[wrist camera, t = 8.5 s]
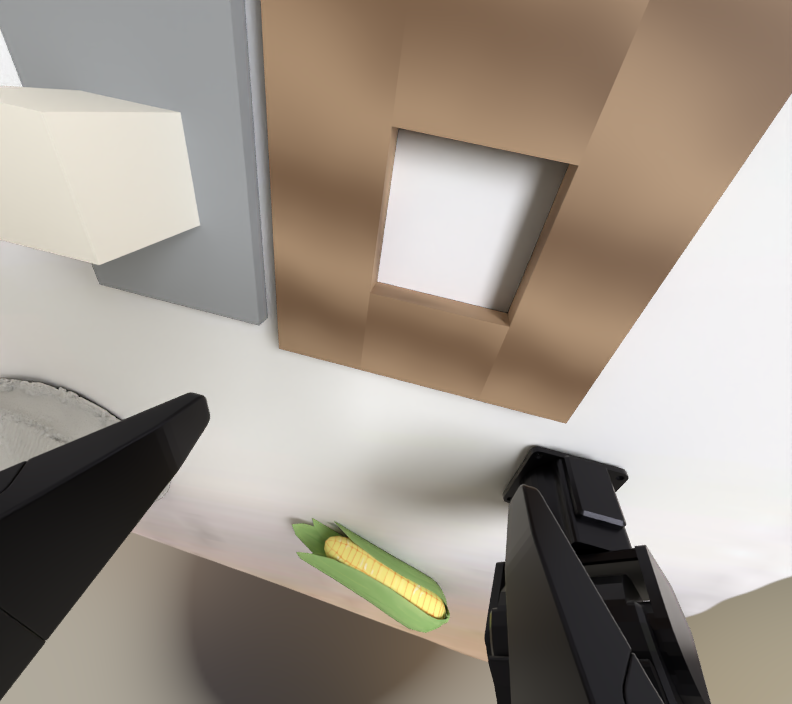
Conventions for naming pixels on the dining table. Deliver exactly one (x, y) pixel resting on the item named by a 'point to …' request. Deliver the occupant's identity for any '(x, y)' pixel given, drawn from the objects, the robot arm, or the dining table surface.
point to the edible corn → (375, 576)
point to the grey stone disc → (44, 420)
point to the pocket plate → (517, 132)
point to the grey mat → (201, 117)
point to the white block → (91, 173)
